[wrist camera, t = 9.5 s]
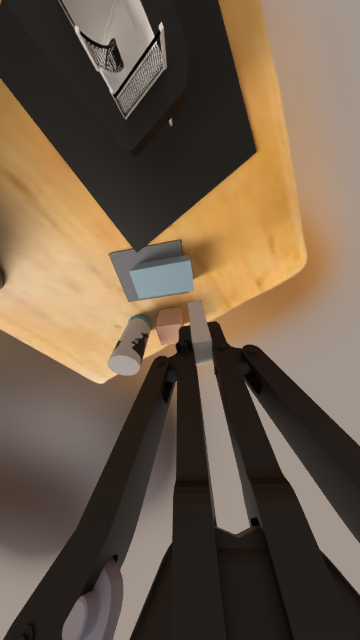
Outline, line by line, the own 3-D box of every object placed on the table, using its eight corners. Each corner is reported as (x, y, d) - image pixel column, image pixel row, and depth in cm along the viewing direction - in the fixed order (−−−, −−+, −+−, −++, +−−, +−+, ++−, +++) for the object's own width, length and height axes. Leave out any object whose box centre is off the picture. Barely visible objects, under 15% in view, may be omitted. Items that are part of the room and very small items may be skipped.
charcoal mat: (128, 301, 38) (128, 301, 38) (109, 253, 31) (108, 253, 31) (187, 292, 37) (187, 292, 36) (180, 240, 30) (180, 240, 30)
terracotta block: (164, 326, 43) (161, 345, 37) (159, 309, 40) (155, 327, 33) (183, 323, 43) (184, 342, 36) (180, 306, 39) (180, 323, 33)
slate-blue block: (192, 280, 34) (144, 288, 36) (189, 254, 31) (136, 263, 32) (194, 290, 30) (139, 299, 31) (190, 260, 26) (129, 271, 27)
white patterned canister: (128, 330, 44) (107, 372, 32) (130, 312, 40) (107, 352, 28) (149, 335, 45) (137, 377, 33) (153, 318, 41) (141, 359, 29)
